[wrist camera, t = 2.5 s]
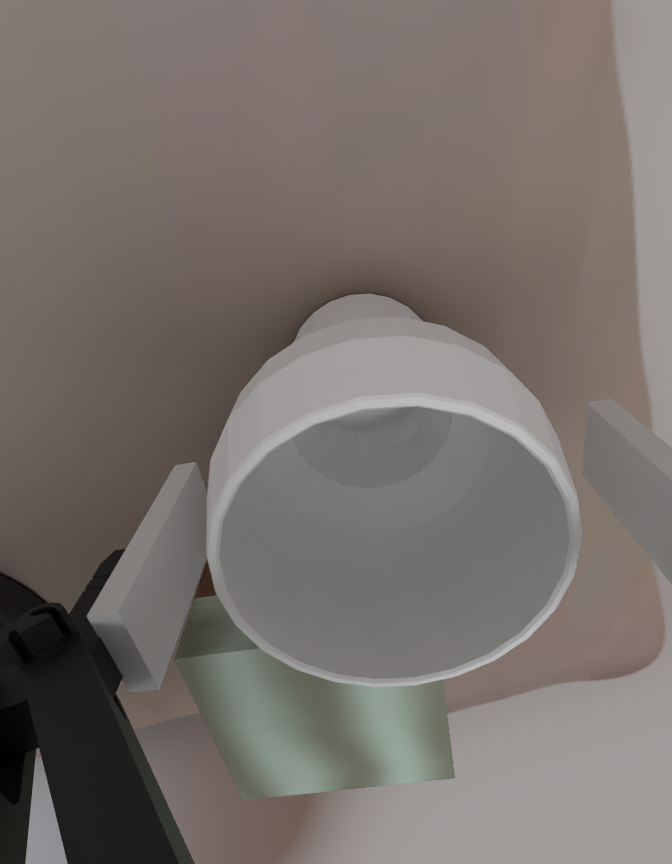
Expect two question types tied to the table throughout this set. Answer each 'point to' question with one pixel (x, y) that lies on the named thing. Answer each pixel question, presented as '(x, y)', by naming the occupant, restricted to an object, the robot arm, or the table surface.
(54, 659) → the robot arm
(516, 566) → the cup
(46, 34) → the table surface
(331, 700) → the tower base
